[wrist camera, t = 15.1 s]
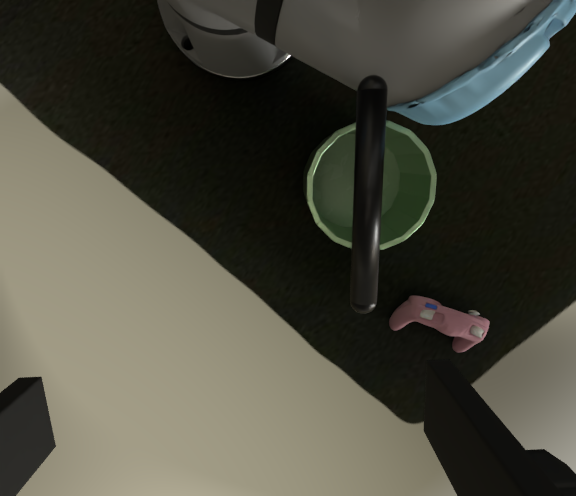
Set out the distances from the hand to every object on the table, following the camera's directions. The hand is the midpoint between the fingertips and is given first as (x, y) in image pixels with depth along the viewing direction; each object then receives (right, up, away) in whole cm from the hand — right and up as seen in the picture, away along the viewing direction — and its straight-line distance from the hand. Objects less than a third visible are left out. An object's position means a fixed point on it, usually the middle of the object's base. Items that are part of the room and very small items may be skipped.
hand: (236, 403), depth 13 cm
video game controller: (+19, -3, +33) cm, 38 cm away
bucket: (+9, +13, +29) cm, 33 cm away
